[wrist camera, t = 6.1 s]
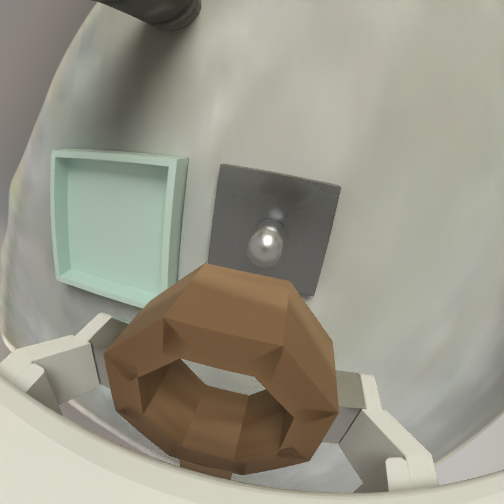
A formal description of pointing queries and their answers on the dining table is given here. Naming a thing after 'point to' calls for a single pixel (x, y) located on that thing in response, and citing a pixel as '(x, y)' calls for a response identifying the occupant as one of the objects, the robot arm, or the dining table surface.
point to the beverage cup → (159, 11)
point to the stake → (272, 224)
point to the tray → (117, 221)
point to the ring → (231, 359)
